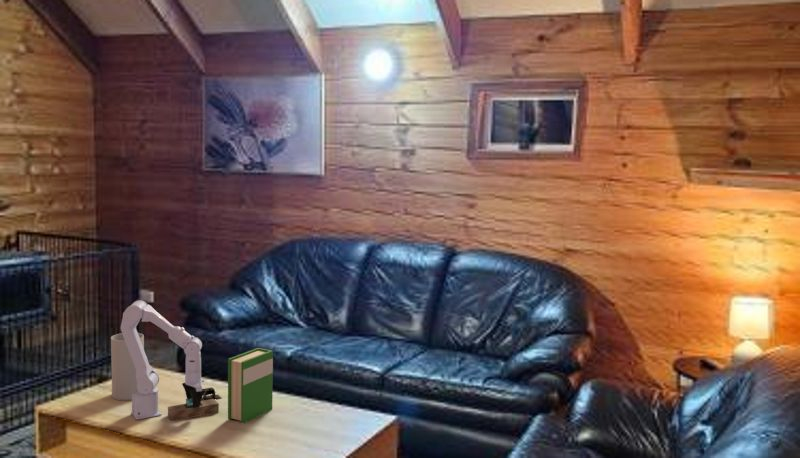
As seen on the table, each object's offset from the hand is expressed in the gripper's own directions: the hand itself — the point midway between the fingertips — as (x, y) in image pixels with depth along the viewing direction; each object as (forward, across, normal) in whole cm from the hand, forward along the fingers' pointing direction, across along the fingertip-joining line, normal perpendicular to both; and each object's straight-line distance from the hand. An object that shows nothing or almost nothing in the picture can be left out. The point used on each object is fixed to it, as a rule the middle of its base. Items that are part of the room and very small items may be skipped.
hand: (193, 403), depth 277 cm
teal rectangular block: (+4, 0, 0) cm, 4 cm away
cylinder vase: (+4, +32, +17) cm, 36 cm away
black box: (+5, +13, -11) cm, 18 cm away
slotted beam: (+4, 0, 0) cm, 4 cm away
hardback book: (+4, -11, -19) cm, 22 cm away
